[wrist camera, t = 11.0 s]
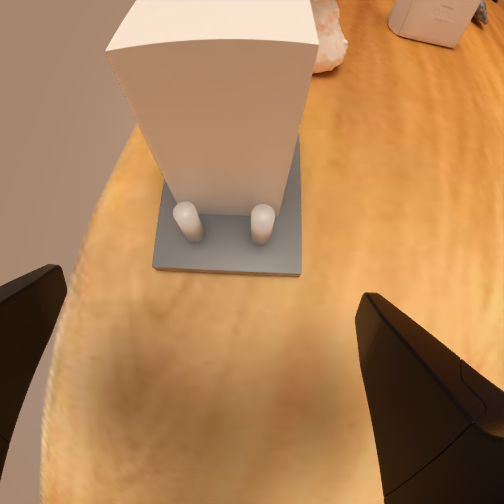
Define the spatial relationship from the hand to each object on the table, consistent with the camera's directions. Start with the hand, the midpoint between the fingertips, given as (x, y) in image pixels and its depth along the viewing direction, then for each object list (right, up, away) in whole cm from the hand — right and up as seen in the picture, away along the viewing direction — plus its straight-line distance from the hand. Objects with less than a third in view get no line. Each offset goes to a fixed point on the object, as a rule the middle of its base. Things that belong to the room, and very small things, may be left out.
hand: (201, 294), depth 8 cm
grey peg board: (0, +5, +12) cm, 13 cm away
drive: (0, +5, +11) cm, 13 cm away
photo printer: (+23, +28, +19) cm, 41 cm away
